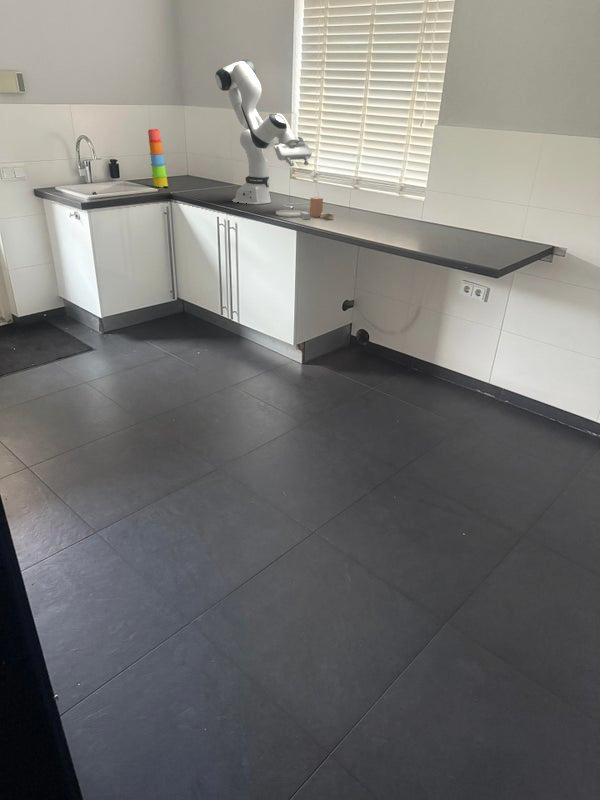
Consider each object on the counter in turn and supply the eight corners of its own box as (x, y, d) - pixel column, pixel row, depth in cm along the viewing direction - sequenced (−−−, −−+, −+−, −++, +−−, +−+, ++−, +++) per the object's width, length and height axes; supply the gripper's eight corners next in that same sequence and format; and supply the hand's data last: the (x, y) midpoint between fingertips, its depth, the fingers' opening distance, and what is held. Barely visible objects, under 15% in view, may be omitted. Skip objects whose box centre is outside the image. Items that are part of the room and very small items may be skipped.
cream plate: (272, 216, 293) (272, 213, 292) (280, 211, 305) (280, 208, 305) (300, 218, 290) (300, 215, 289) (306, 213, 302) (306, 210, 302)
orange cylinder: (310, 215, 296) (310, 197, 291) (316, 215, 298) (317, 197, 294) (315, 217, 293) (316, 199, 288) (322, 216, 295) (322, 198, 291)
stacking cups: (166, 188, 366) (161, 129, 350) (151, 188, 366) (145, 129, 350) (170, 186, 375) (166, 128, 359) (155, 186, 375) (150, 128, 359)
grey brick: (300, 217, 292) (300, 211, 290) (305, 217, 292) (306, 211, 291) (304, 220, 287) (304, 213, 285) (309, 219, 288) (309, 213, 286)
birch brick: (321, 220, 287) (321, 214, 286) (320, 219, 290) (320, 213, 288) (333, 220, 288) (333, 213, 287) (331, 218, 291) (332, 212, 289)
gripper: (274, 139, 287) (286, 161, 285) (306, 138, 298) (317, 159, 296) (270, 148, 292) (281, 170, 290) (301, 146, 303) (312, 168, 301)
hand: (299, 165), depth 293 cm, fingers open, 8 cm apart
